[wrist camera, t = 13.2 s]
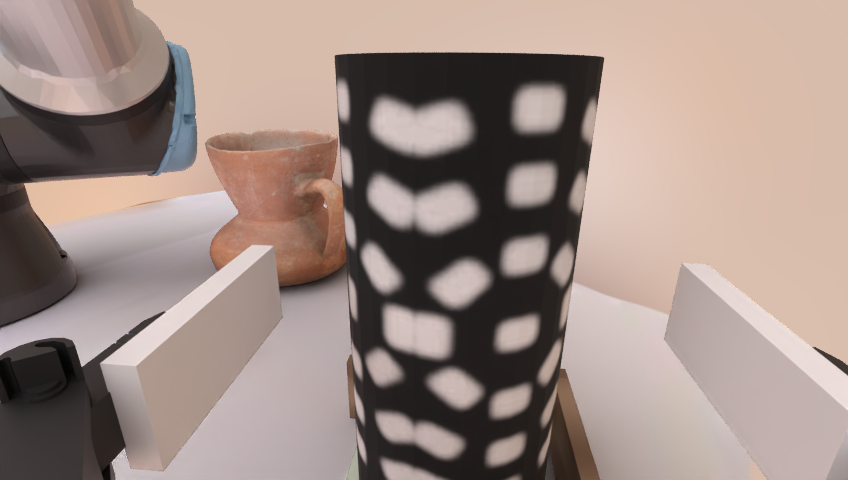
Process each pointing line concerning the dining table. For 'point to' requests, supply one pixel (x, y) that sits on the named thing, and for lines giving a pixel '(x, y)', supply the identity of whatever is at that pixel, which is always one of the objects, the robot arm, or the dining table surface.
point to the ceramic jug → (281, 200)
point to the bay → (566, 440)
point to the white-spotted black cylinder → (461, 253)
